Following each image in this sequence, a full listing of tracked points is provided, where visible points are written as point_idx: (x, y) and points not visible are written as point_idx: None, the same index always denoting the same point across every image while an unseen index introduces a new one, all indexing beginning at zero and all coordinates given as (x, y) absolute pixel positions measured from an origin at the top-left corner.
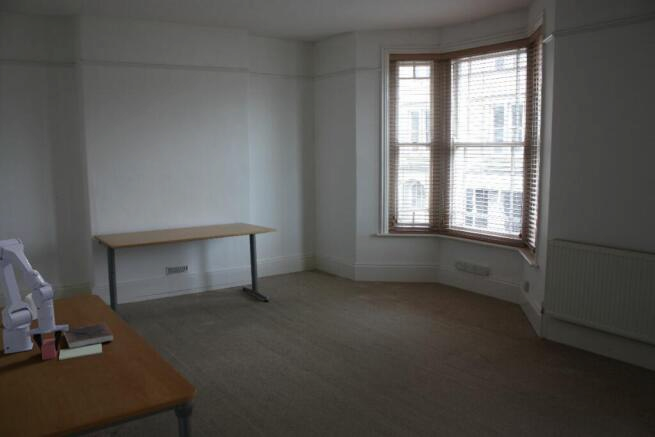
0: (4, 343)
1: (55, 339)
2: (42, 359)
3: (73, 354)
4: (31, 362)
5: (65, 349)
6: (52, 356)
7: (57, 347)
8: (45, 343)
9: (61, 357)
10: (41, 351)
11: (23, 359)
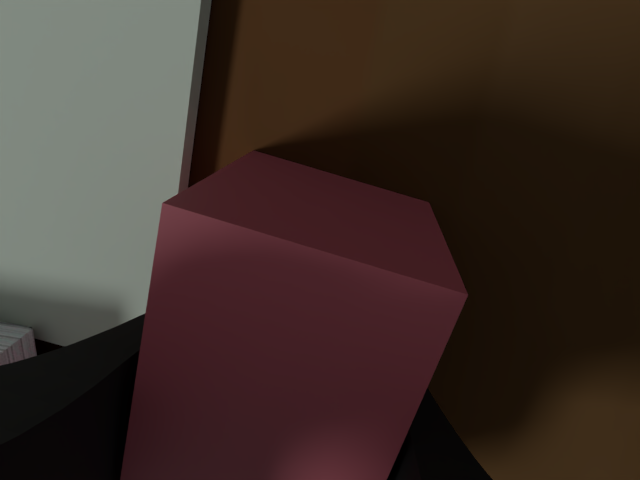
0: None
1: (54, 404)
2: (428, 205)
3: None
4: (593, 208)
5: None
6: (283, 168)
7: None
8: (317, 471)
9: (161, 14)
10: None
11: (628, 408)
